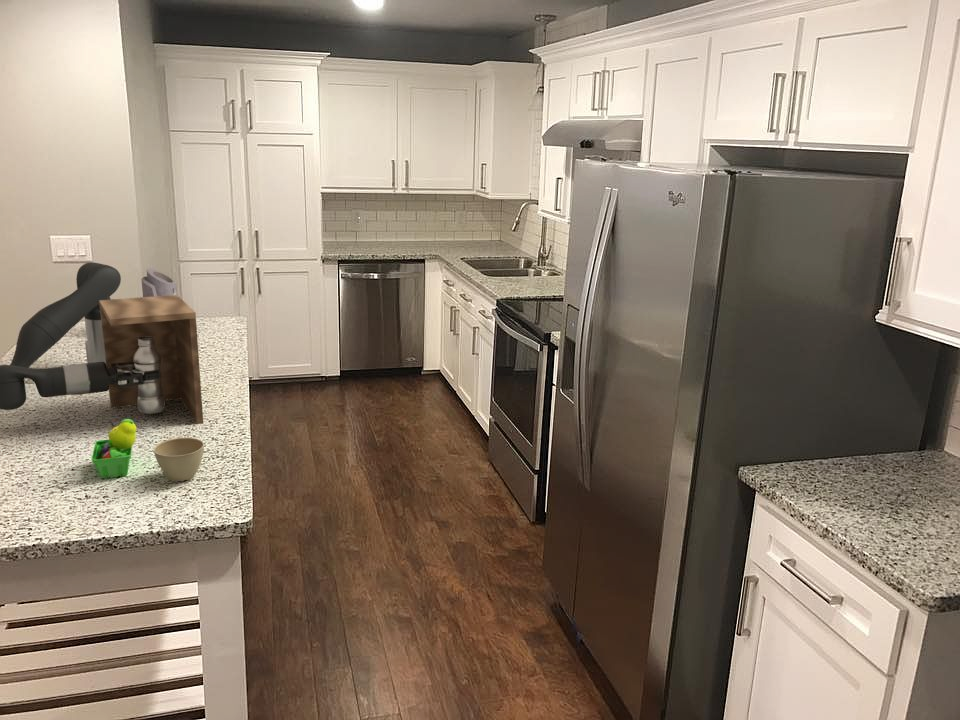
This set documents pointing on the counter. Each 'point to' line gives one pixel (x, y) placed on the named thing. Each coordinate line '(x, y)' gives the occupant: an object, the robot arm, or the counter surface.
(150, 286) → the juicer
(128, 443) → the fruit basket
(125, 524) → the counter surface
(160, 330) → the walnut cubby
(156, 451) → the flower pot
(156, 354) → the plastic bottle
